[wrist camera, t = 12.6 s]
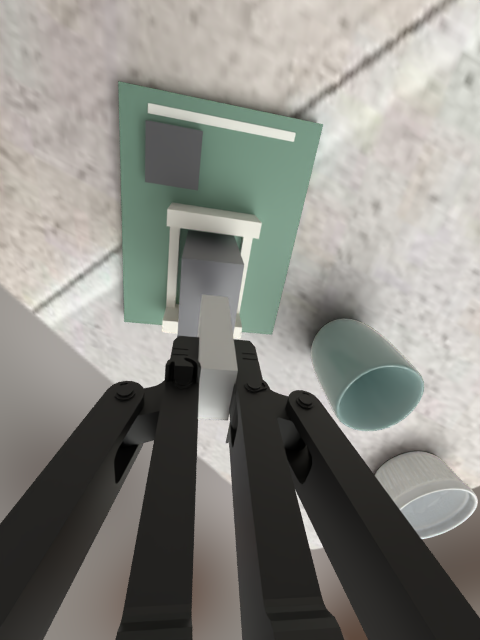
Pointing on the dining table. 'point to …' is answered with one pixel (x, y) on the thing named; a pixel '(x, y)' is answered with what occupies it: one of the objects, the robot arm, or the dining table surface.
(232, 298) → the plug
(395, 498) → the ramekin
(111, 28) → the dining table surface
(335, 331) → the cup
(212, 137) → the board
